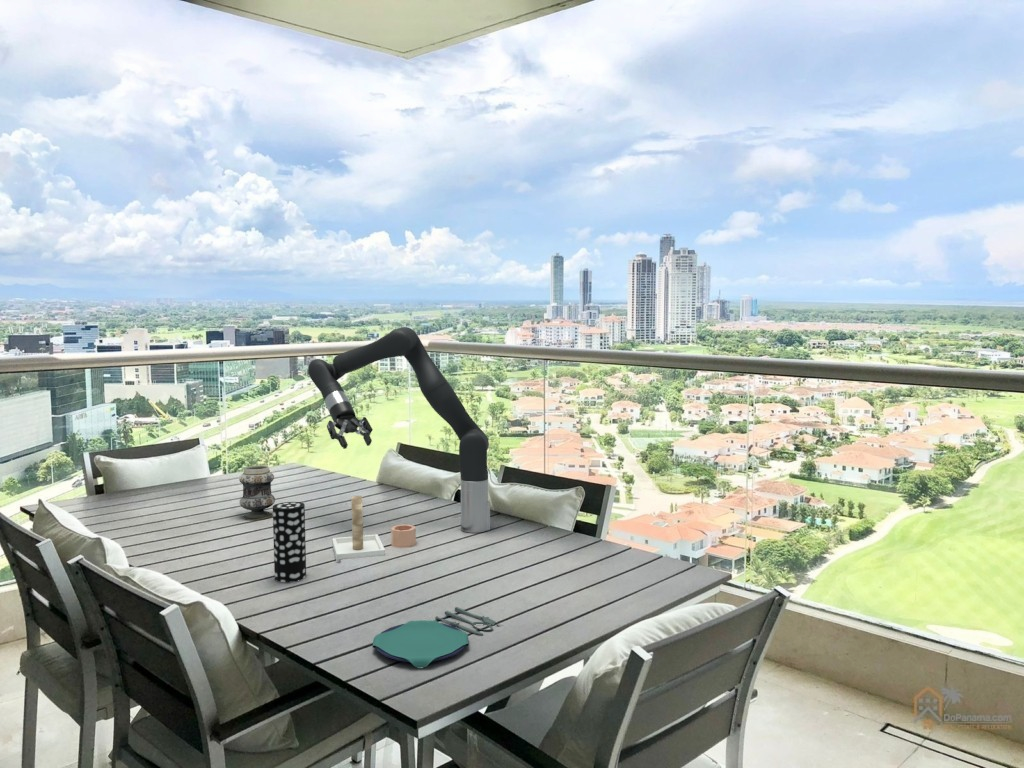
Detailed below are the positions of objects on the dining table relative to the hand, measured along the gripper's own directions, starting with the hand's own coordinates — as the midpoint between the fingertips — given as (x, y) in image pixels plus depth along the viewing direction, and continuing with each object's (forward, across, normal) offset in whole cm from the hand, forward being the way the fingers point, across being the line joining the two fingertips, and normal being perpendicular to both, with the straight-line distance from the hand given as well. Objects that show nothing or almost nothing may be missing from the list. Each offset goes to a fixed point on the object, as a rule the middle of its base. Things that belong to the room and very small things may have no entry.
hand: (357, 445), depth 239 cm
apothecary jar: (-11, -16, +53) cm, 57 cm away
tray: (+32, -9, +11) cm, 34 cm away
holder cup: (+35, +4, +7) cm, 36 cm away
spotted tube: (+37, -34, +5) cm, 51 cm away
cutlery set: (+79, -27, -36) cm, 91 cm away
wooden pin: (+31, -9, +10) cm, 34 cm away
